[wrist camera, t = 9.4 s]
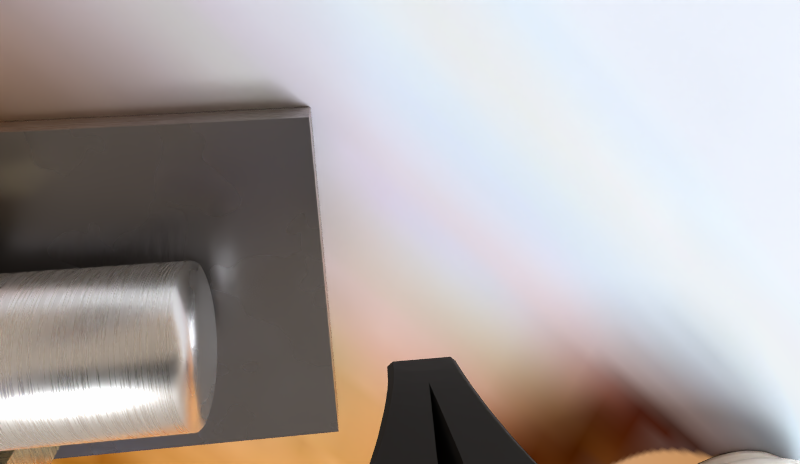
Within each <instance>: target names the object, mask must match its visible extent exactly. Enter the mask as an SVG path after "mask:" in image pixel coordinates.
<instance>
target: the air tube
mask: <svg viewBox="0 0 800 464" xmlns="http://www.w3.org/2000/svg"><path fill="white" fill-rule="evenodd" d="M216 370H217V333H216V320H215V312H214V305H213V300H212V295H211V291H210V287H209V283H208V280H207V278H206V275H205V273H204V271H203V269H202V267H201V266H200V265H199V264H198V263H197V262H196V261H192V260H190V261H176V262H162V263H147V264H133V265H118V266H104V267H89V268H75V269H60V270H46V271H31V272H17V273H2V274H0V451H7V450H18V449H29V448H39V447H50V446H60V445H71V444H82V443H92V442H103V441H114V440H124V439H135V438H145V437H156V436H167V435H177V434H188V433H197V432H199V431H200V430H201V429H202V428H203V427H204V425H205V423H206V421H207V419H208V416H209V413H210V410H211V406H212V401H213V396H214V390H215V382H216Z"/></svg>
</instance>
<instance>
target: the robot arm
mask: <svg viewBox="0 0 800 464" xmlns="http://www.w3.org/2000/svg"><path fill="white" fill-rule="evenodd" d="M387 369H388V390H387V397H386V403H385V409H384V414H383V418H382V422H381V426H380V431H379V435H378V439H377V442H376V446H375V449H374V452H373V455H372V458H371V461H370V464H537V463H536V462H535V461H534V460H533V459H532V458H531V457H530V456H529V455H528V454H527V453H526V451H525V450H524V449H523V448H522V447H521V446H520V445H519V444H518V443H517V442H516V441H515V439H514V438H513V437H512V436H511V435H510V434H509V433H508V431H507V430H506V429H505V428H504V427H503V425H502V424H501V423H500V422H499V420H498V419H497V418H496V417H495V416H494V414H493V413H492V412H491V411H490V409H489V408H488V407H487V406H486V404H485V403H484V402H483V400H482V399H481V398H480V396H479V395H478V394H477V392H476V391H475V390H474V388H473V387H472V385H471V384H470V383H469V381H468V380H467V378H466V377H465V375H464V374H463V372H462V371H461V369H460V368H459V366H458V364H457V363H456V361H455V360H454V359H452V358H451V357H443V358H431V359H420V360H408V361H396V362H392V363H391V364H390V365H389V366H388V367H387Z"/></svg>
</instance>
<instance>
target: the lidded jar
mask: <svg viewBox="0 0 800 464" xmlns="http://www.w3.org/2000/svg"><path fill="white" fill-rule="evenodd" d="M698 464H800V460H794V459H786V458H780V457H778V456H776V455H773V454H770V453H767V452H761V451H737V452H731V453H726V454H722V455H719V456H716V457H712V458H710V459H707V460H705V461H703V462H701V463H698Z"/></svg>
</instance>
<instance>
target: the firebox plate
mask: <svg viewBox="0 0 800 464" xmlns="http://www.w3.org/2000/svg"><path fill="white" fill-rule="evenodd" d="M190 260H192V261H196V262H197V263H198V264H199V265H200V266H201V267H202V269H203V271H204V273H205V275H206V278H207V280H208V283H209V287H210V291H211V295H212V300H213V305H214V312H215V320H216V333H217V370H216V382H215V390H214V396H213V401H212V406H211V410H210V413H209V416H208V419H207V421H206V423H205V425H204V427H203V428H202V429H201V430H200V431H199V432H197V433H188V434H177V435H167V436H156V437H145V438H135V439H124V440H114V441H103V442H92V443H82V444H71V445H60V446H50V447H39V448H29V449H18V450H7V451H0V464H51V462H52V460H53V459H57V458H68V457H78V456H88V455H99V454H109V453H120V452H130V451H140V450H151V449H161V448H171V447H182V446H192V445H203V444H213V443H223V442H234V441H244V440H254V439H265V438H275V437H286V436H296V435H306V434H317V433H327V432H337V431H338V403H337V392H336V381H335V370H334V359H333V348H332V337H331V327H330V316H329V305H328V294H327V283H326V272H325V261H324V250H323V239H322V228H321V217H320V207H319V196H318V185H317V174H316V163H315V152H314V141H313V130H312V119H311V108H310V107H301V108H280V109H259V110H239V111H218V112H197V113H176V114H156V115H135V116H114V117H93V118H72V119H52V120H31V121H10V122H0V274H2V273H17V272H31V271H46V270H60V269H75V268H89V267H104V266H118V265H133V264H147V263H162V262H176V261H190Z"/></svg>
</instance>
